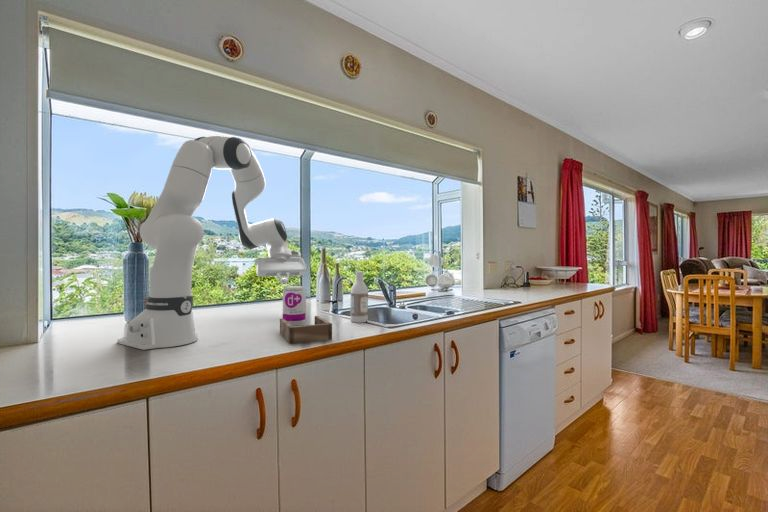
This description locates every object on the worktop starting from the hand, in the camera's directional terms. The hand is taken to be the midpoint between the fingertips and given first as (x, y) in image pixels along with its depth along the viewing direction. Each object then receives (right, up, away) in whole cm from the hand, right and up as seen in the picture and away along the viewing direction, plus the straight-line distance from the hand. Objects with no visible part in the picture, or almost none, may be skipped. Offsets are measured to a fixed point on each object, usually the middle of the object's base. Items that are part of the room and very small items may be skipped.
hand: (284, 282), depth 149 cm
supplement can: (+7, -16, -14) cm, 23 cm away
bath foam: (+30, -16, -2) cm, 34 cm away
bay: (+14, -16, -27) cm, 34 cm away
